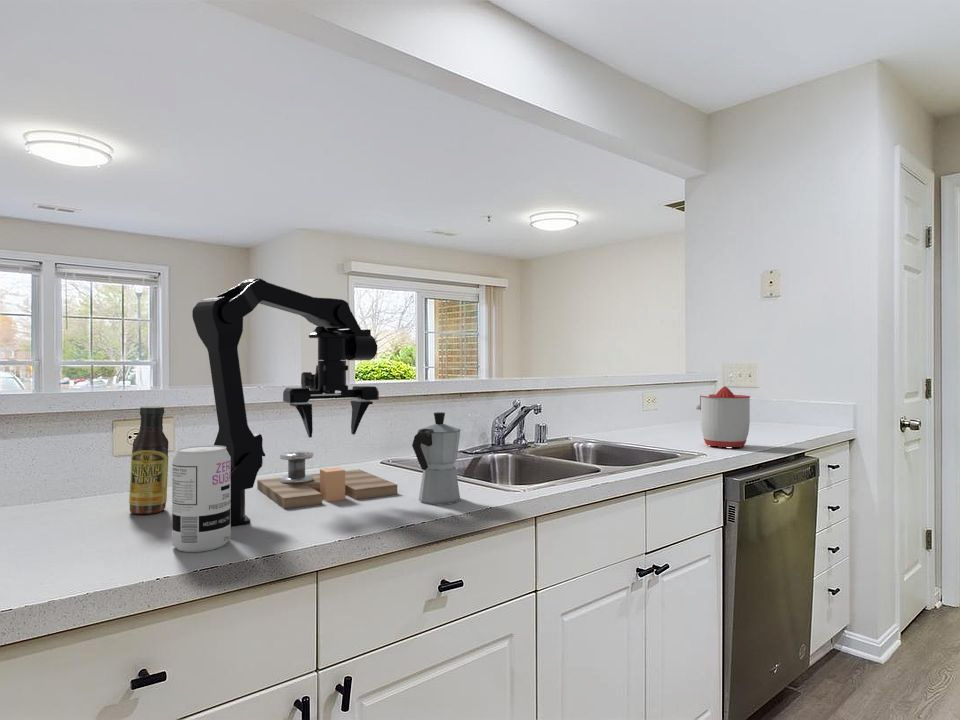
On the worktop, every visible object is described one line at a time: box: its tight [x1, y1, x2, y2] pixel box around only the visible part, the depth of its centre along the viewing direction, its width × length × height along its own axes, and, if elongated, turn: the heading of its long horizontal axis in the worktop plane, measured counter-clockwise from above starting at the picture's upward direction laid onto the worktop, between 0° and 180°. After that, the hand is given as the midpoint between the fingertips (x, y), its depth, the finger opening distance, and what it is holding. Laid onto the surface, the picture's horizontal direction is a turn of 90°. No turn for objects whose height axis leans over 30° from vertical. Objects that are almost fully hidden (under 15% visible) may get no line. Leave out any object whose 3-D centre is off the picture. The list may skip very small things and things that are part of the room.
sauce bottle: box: [128, 405, 169, 515], centre depth 116 cm, size 6×6×20 cm
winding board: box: [256, 469, 398, 509], centre depth 133 cm, size 22×24×2 cm
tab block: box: [319, 466, 346, 502], centre depth 127 cm, size 4×4×6 cm
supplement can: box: [171, 444, 232, 553], centre depth 95 cm, size 8×8×15 cm
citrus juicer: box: [696, 386, 751, 448], centre depth 204 cm, size 16×17×20 cm
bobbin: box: [279, 450, 314, 484], centre depth 135 cm, size 7×7×6 cm
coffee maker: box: [411, 411, 461, 506], centre depth 125 cm, size 15×9×18 cm, turn 149°
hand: (332, 435), depth 127 cm, fingers open, 9 cm apart
